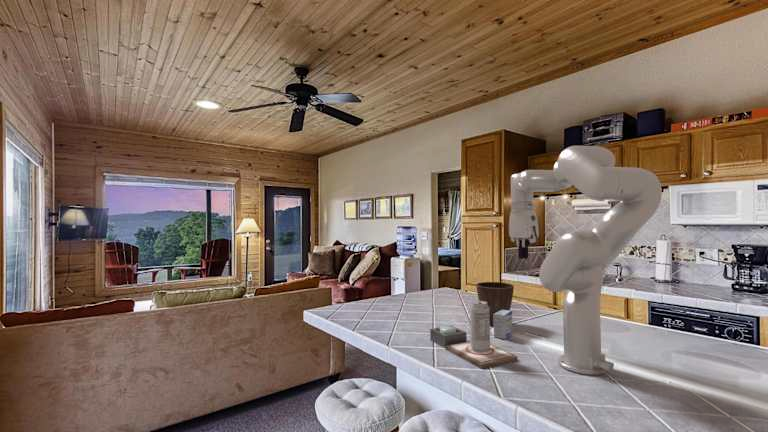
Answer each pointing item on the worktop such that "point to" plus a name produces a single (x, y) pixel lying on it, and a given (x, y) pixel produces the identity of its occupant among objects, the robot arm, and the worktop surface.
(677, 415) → the worktop surface
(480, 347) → the energy drink can
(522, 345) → the worktop surface
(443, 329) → the button
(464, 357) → the sketch board
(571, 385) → the worktop surface
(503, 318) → the medicine box
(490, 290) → the plant pot
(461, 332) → the button housing
